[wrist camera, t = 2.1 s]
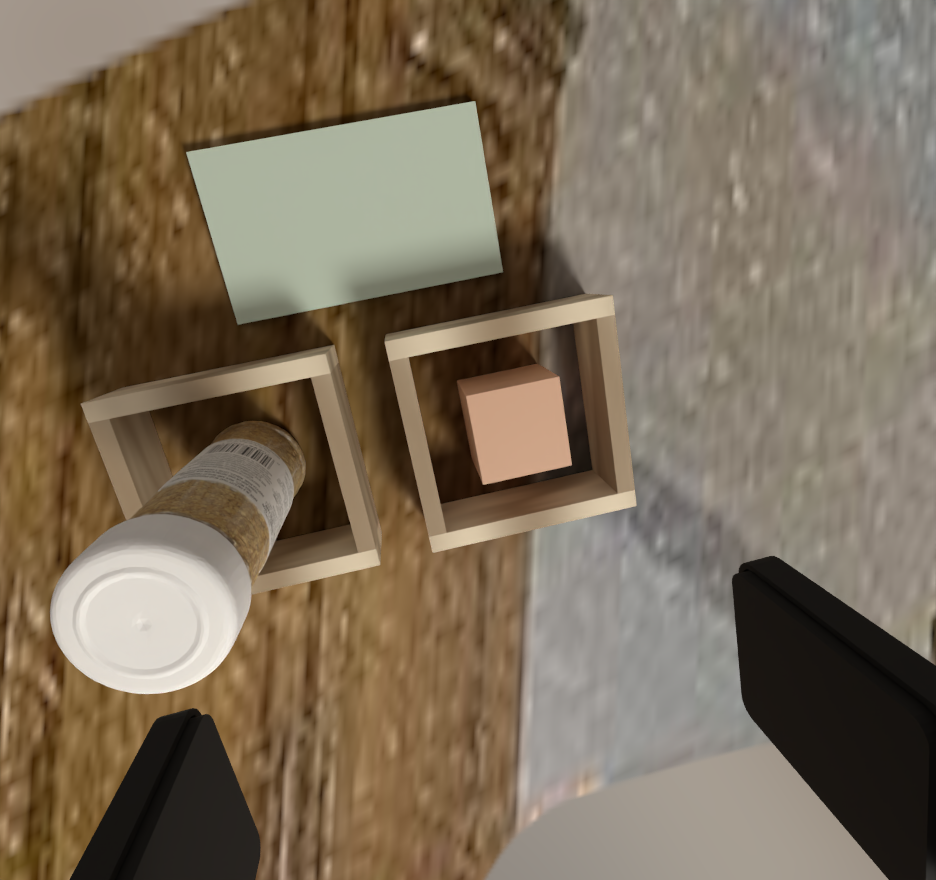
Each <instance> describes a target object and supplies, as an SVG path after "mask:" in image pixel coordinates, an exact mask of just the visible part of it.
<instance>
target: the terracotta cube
mask: <svg viewBox="0 0 936 880" xmlns="http://www.w3.org/2000/svg"><path fill="white" fill-rule="evenodd" d="M457 386H458V391H459V396H460V401H461V406H462V411H463V416H464V422H465V427H466V432H467V437H468V442H469V447H470V452H471V457H472V460H473V462H474V465H475V467H476V469H477V472H478V474H479V476H480V479H481V481H482V483H483V485H485V484H490V483H494V482H499V481H503V480H508V479H512V478H517V477H521V476H526V475H530V474H535V473H539V472H544V471H548V470H553V469H557V468H562V467H566V466H571V465H572V462H571V455H570V448H569V441H568V434H567V427H566V420H565V413H564V406H563V399H562V392H561V385H560V378H559V376H558V375H556V374H554V373H552V372H551V371H549V370H547V369H546V368H544V367H542V366H540V365H539V364H533V365H528V366H523V367H519V368H514V369H509V370H504V371H500V372H495V373H490V374H485V375H480V376H476V377H471V378H466V379H461V380H457Z"/></svg>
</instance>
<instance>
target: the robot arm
mask: <svg viewBox="0 0 936 880" xmlns="http://www.w3.org/2000/svg"><path fill="white" fill-rule="evenodd" d="M732 586H733V598H734V610H735V622H736V634H737V645H738V657H739V669H740V681H741V693H742V699H743V703H744V705H745V708H746V710H747V712H748V713H749V715H750V717H751V718H752V719H753V721H754V722H755V723H756V724H757V725H758V726H759V728H760V729H761V730H762V731H763V732H764V733H765V735H766V736H767V737H768V738H769V739H770V741H771V742H772V743H773V744H774V745H775V746H776V748H777V749H778V750H779V751H780V752H781V753H782V755H783V756H784V757H785V758H786V759H787V760H788V762H789V763H790V764H791V765H792V766H793V768H794V769H795V770H796V771H797V772H798V773H799V775H800V776H801V777H802V778H803V779H804V780H805V782H806V783H807V784H808V785H809V786H810V787H811V789H812V790H813V791H814V792H815V793H816V795H817V796H818V797H819V798H820V799H821V800H822V802H823V803H824V804H825V805H826V806H827V807H828V809H829V810H830V811H831V812H832V813H833V815H834V816H835V817H836V818H837V819H838V820H839V822H840V823H841V824H842V825H843V826H844V827H845V829H846V830H847V831H848V832H849V833H850V835H851V836H852V837H853V838H854V839H855V840H856V841H857V843H858V844H859V845H860V846H861V847H862V849H863V850H864V851H865V852H866V853H867V855H868V856H869V857H870V858H871V859H872V860H873V862H874V863H875V864H876V865H877V866H878V867H879V869H880V870H881V871H882V872H883V873H884V875H885V876H886V877H887V878H888V879H889V880H936V666H935V665H934V664H932V663H931V662H929V661H928V660H926V659H925V658H924V657H922V656H921V655H919V654H918V653H916V652H915V651H913V650H912V649H910V648H909V647H908V646H906V645H905V644H903V643H902V642H900V641H899V640H897V639H896V638H894V637H893V636H892V635H890V634H889V633H887V632H886V631H884V630H883V629H881V628H880V627H878V626H877V625H875V624H874V623H873V622H871V621H870V620H868V619H867V618H865V617H864V616H862V615H861V614H859V613H858V612H857V611H855V610H854V609H852V608H851V607H849V606H848V605H846V604H845V603H843V602H842V601H841V600H839V599H838V598H836V597H835V596H833V595H832V594H830V593H829V592H827V591H826V590H825V589H823V588H822V587H820V586H819V585H817V584H816V583H814V582H813V581H811V580H810V579H808V578H807V577H806V576H804V575H803V574H801V573H800V572H798V571H797V570H795V569H794V568H792V567H791V566H790V565H788V564H787V563H785V562H784V561H782V560H781V559H779V558H777V557H775V556H769V557H765V558H761V559H758V560H754V561H750V562H746V563H743V564H742V565H740V568H739V573H737V574H735V575H734V576H733V578H732ZM259 859H260V839H259V834H258V831H257V828H256V826H255V823H254V821H253V818H252V816H251V813H250V811H249V808H248V806H247V803H246V801H245V798H244V796H243V793H242V791H241V788H240V786H239V783H238V781H237V778H236V776H235V773H234V771H233V768H232V766H231V763H230V761H229V758H228V756H227V753H226V751H225V748H224V746H223V743H222V741H221V738H220V736H219V733H218V731H217V728H216V726H215V723H214V721H213V719H212V717H211V716H210V715H208V714H205V715H201V713H200V712H199V711H198V710H197V709H194V708H192V709H188V710H185V711H181V712H177V713H173V714H169V715H166V716H162V717H159V718H158V719H156V721H155V722H154V723H153V725H152V727H151V729H150V731H149V733H148V734H147V736H146V738H145V740H144V742H143V744H142V746H141V748H140V749H139V751H138V753H137V755H136V757H135V759H134V761H133V762H132V764H131V766H130V768H129V770H128V772H127V774H126V776H125V777H124V779H123V781H122V783H121V785H120V787H119V789H118V790H117V792H116V794H115V796H114V798H113V800H112V802H111V804H110V805H109V807H108V809H107V811H106V813H105V815H104V817H103V818H102V820H101V822H100V824H99V826H98V828H97V830H96V832H95V833H94V835H93V837H92V839H91V841H90V843H89V845H88V846H87V848H86V850H85V852H84V854H83V856H82V858H81V859H80V861H79V863H78V865H77V867H76V869H75V871H74V873H73V874H72V876H71V878H70V880H255V878H256V873H257V869H258V864H259Z"/></svg>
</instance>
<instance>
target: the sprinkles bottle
mask: <svg viewBox="0 0 936 880" xmlns="http://www.w3.org/2000/svg"><path fill="white" fill-rule="evenodd" d="M305 469H306V461H305V459H304V455H303V452H302V450H301V448H300V446H299V444H298V443H297V442H296V441H295V439H294V438H293V437H292V436H291V435H290V434H289V433H288V432H287V431H285V430H283V429H281V428H280V427H278V426H276V425H273V424H270V423H268V422H263V421H244V422H241V423H238V424H235V425H231V426H229V427H228V428H227V429H225V430H223V431H222V432H221V433H220V434H218V435H217V436H216V438H215V439H214V440H213V442H212V444H211V445H209V446H208V447H206V448H205V449H204V450H203V451H202V452H201V453H199V454H198V455H197V456H196V457H195V458H194V459H193V460H191V461H190V462H189V463H188V464H187V465H186V466H184V467H183V468H182V469H181V470H180V471H179V472H178V473H176V474H175V475H174V476H173V477H172V478H171V479H170V480H169V481H167V482H166V483H165V484H164V485H163V486H162V487H161V488H160V489H159V490H158V492H157V493H156V494H155V495H154V496H153V497H152V498H151V499H150V500H149V501H148V502H147V503H146V504H145V505H144V506H143V507H142V508H140V509H139V510H138V511H137V512H136V513H135V514H134V515H133V516H132V517H131V518H130V519H129V520H127V521H124V522H122V523H120V524H118V525H116V526H114V527H112V528H110V529H109V530H108V531H106V532H105V533H104V534H102V535H101V536H100V537H99V538H98V539H97V540H96V541H95V542H93V543H92V544H91V545H90V546H89V547H88V548H87V549H86V550H85V551H84V552H82V553H81V554H80V555H79V556H78V557H77V558H76V559H75V560H74V561H73V562H72V563H71V564H70V566H69V567H68V568H67V569H66V570H65V572H64V573H63V575H62V576H61V578H60V579H59V581H58V583H57V585H56V587H55V590H54V593H53V596H52V601H51V609H50V618H51V625H52V630H53V633H54V636H55V639H56V641H57V643H58V645H59V647H60V649H61V650H62V652H63V653H64V654H65V656H66V657H67V658H68V659H69V661H70V662H71V663H72V664H73V665H74V666H75V667H76V668H77V669H79V670H80V671H81V672H82V673H84V674H85V675H86V676H88V677H89V678H91V679H93V680H94V681H96V682H99V683H101V684H103V685H105V686H108V687H110V688H114V689H117V690H121V691H126V692H130V693H138V694H156V693H165V692H170V691H174V690H178V689H181V688H184V687H187V686H189V685H192V684H194V683H196V682H198V681H199V680H201V679H202V678H204V677H206V676H207V675H208V674H210V673H211V672H212V671H214V670H215V669H216V668H217V667H218V666H219V665H220V663H221V662H222V661H223V660H224V658H225V657H226V656H227V654H228V653H229V651H230V649H231V648H232V646H233V644H234V642H235V640H236V638H237V636H238V634H239V632H240V630H241V627H242V625H243V623H244V621H245V618H246V616H247V613H248V611H249V607H250V603H251V591H252V587H253V585H254V583H255V581H256V579H257V577H258V574H259V573H260V571H261V570H262V568H263V566H264V565H265V563H266V560H267V558H268V556H269V554H270V551H271V549H272V547H273V545H274V542H275V540H276V538H277V536H278V533H279V531H280V529H281V527H282V525H283V523H284V521H285V518H286V516H287V514H288V512H289V510H290V508H291V505H292V501H293V498H294V497H295V495H296V494H297V493H298V491H299V489H300V487H301V486H302V484H303V481H304V478H305Z"/></svg>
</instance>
